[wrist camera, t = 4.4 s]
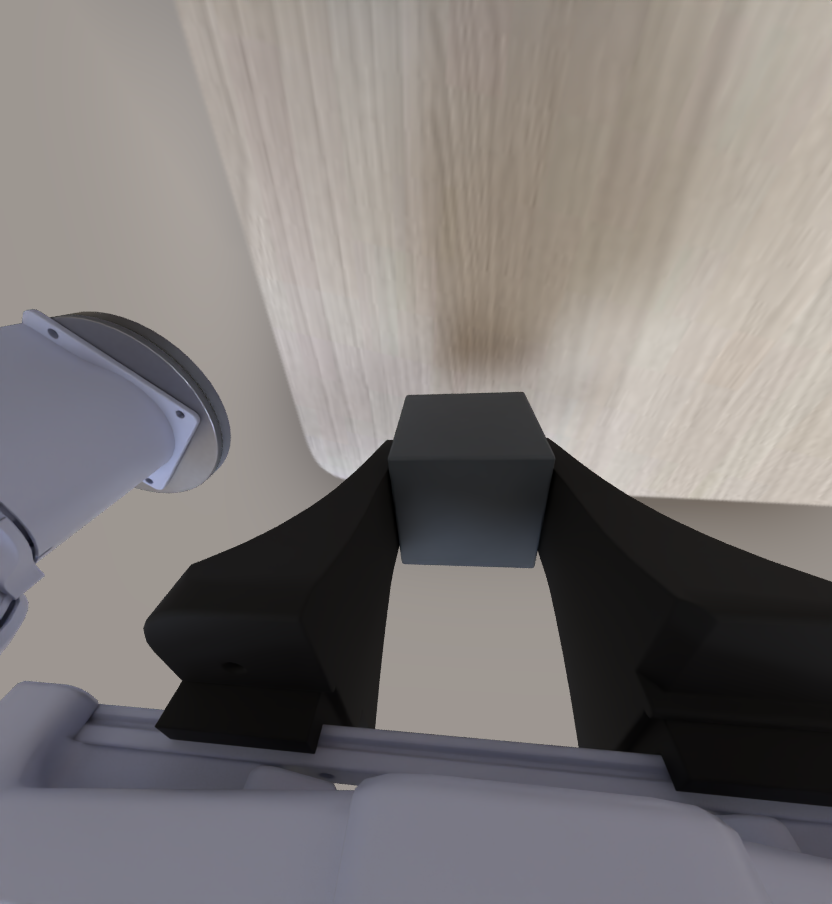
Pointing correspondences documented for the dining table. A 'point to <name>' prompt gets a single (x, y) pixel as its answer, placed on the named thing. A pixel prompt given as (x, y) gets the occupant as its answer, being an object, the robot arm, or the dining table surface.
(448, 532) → the block
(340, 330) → the dining table surface
